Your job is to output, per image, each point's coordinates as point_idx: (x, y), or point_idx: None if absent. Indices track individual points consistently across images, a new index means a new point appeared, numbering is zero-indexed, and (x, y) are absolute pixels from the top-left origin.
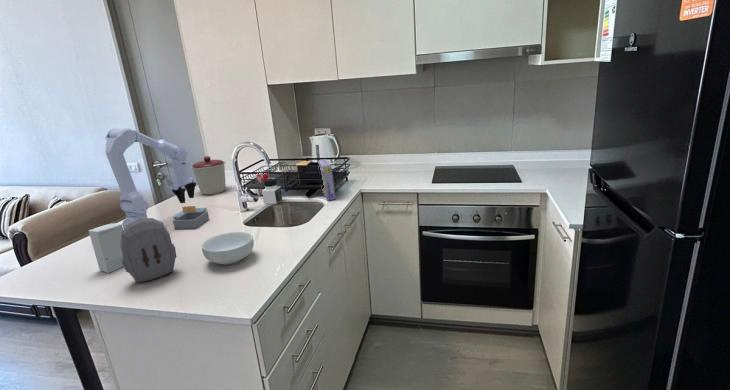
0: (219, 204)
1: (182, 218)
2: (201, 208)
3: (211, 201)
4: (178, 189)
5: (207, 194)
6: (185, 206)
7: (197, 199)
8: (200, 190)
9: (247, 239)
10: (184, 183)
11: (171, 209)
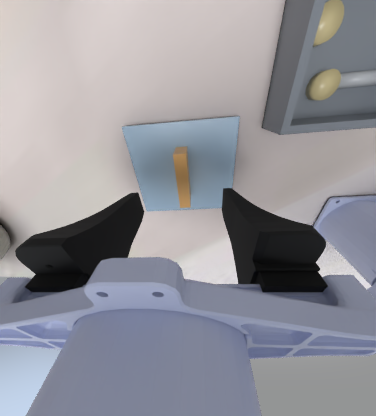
0: (39, 103)
1: (337, 119)
2: (136, 148)
3: (35, 175)
4: (316, 272)
5: (1, 227)
6: (180, 199)
7: None
8: (3, 254)
9: None
10: (254, 310)
11: (146, 249)
